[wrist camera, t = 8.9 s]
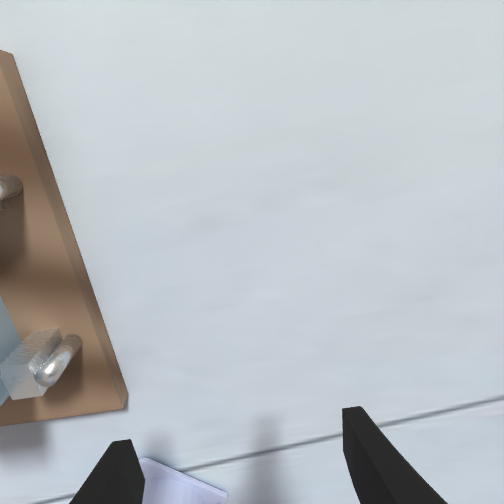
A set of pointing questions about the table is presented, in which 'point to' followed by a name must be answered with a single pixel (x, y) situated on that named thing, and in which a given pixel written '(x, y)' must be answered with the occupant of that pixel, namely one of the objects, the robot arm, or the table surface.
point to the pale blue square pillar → (6, 343)
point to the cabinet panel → (47, 271)
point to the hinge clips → (34, 340)
